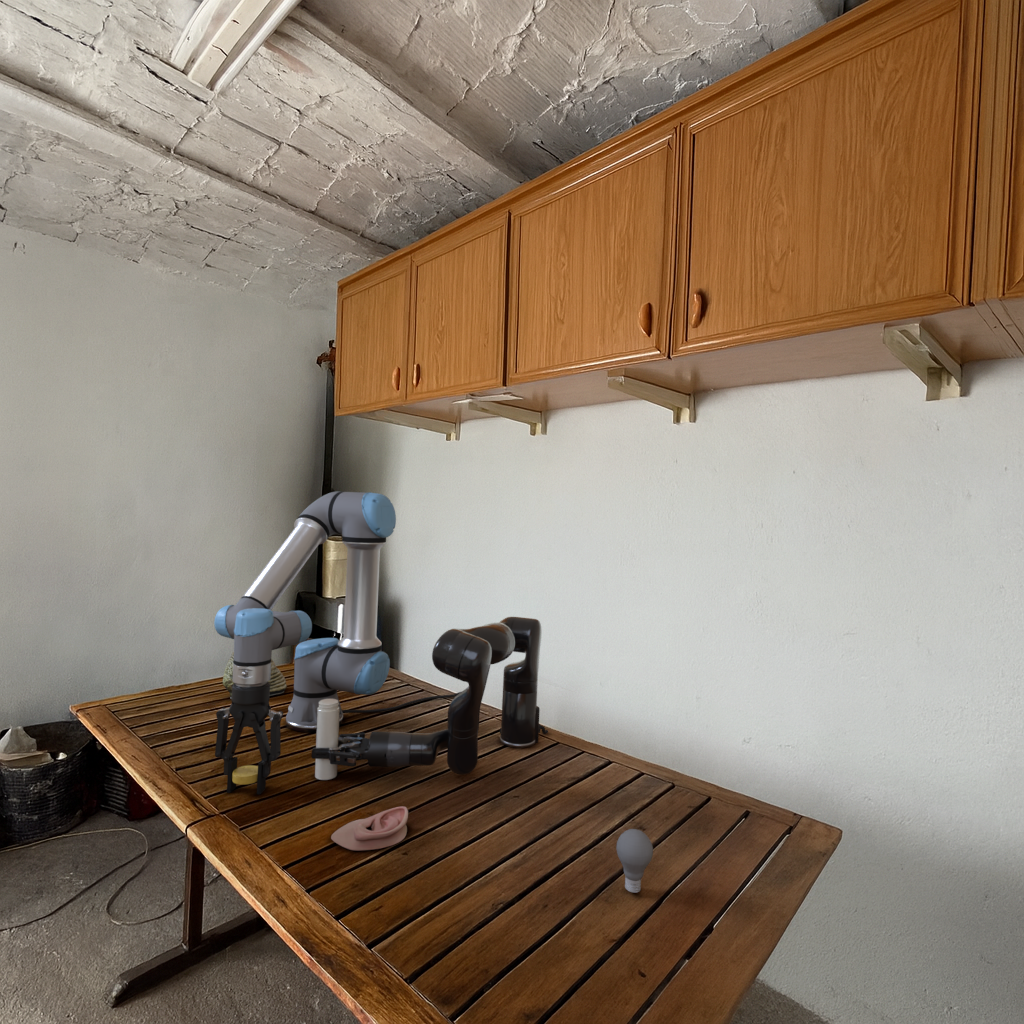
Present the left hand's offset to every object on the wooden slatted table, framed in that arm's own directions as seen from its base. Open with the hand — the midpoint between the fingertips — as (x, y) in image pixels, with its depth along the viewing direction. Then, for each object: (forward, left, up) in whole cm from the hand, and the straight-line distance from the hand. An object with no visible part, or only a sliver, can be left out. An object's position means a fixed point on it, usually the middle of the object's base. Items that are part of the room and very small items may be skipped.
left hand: (246, 790), depth 135 cm
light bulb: (-25, +78, 0) cm, 82 cm away
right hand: (-14, +4, +6) cm, 16 cm away
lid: (0, 0, +4) cm, 4 cm away
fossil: (-34, -58, 0) cm, 67 cm away
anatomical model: (-6, +33, 0) cm, 34 cm away
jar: (-16, +6, 0) cm, 17 cm away
